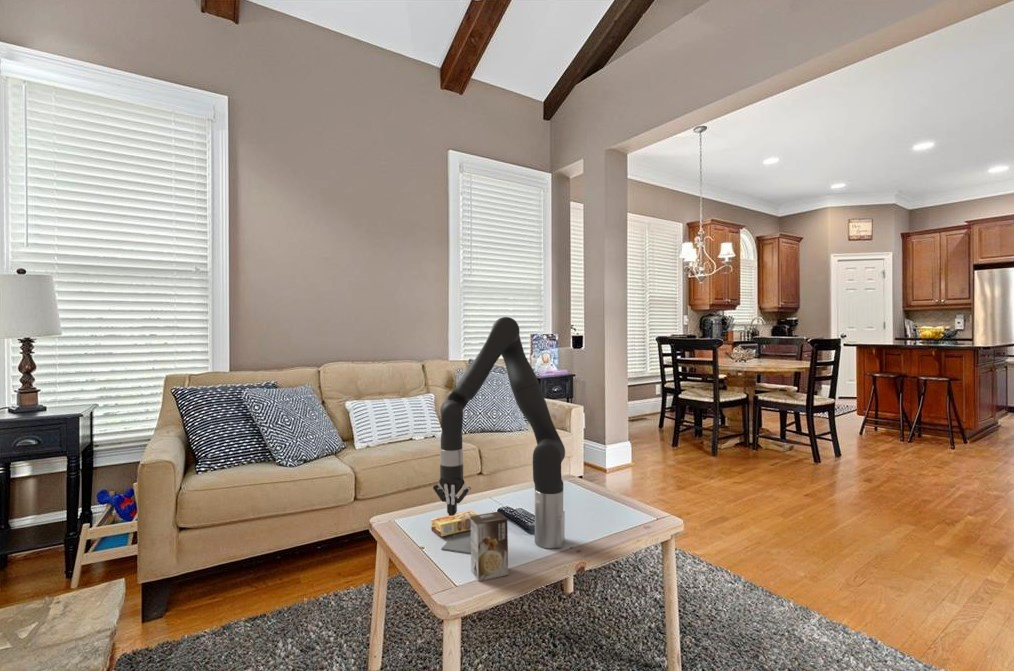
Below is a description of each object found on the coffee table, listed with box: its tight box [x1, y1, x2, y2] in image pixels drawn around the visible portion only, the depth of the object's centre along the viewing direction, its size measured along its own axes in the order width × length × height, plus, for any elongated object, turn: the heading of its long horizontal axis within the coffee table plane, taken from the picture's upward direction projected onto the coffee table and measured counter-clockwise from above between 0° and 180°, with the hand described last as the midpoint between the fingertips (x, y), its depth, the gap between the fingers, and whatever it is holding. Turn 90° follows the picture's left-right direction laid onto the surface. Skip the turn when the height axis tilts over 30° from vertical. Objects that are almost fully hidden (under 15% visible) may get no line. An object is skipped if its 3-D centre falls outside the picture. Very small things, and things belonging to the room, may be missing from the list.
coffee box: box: [470, 511, 509, 582], centre depth 135 cm, size 9×6×16 cm
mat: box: [440, 530, 471, 555], centre depth 154 cm, size 15×14×1 cm
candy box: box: [430, 509, 480, 537], centre depth 164 cm, size 9×4×15 cm
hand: (451, 514), depth 156 cm, fingers closed
